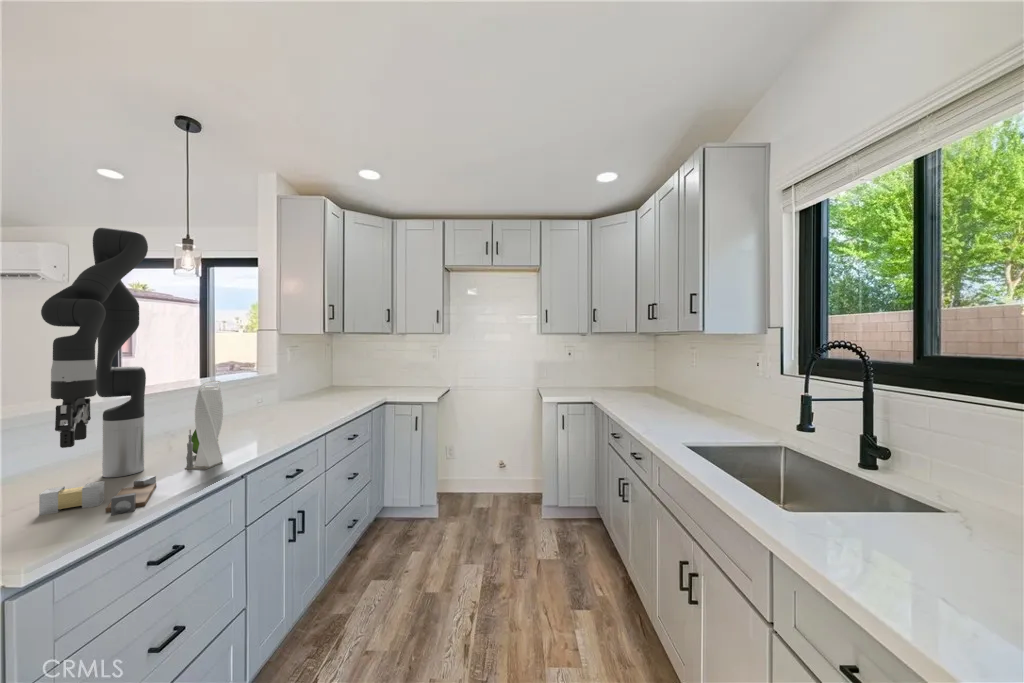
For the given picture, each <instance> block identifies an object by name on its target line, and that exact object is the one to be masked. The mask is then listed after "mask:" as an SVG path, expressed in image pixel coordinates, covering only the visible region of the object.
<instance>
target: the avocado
mask: <svg viewBox="0 0 1024 683" xmlns="http://www.w3.org/2000/svg"><path fill="white" fill-rule="evenodd" d="M191 435H192V438H191V442H193V450H192V453H193V454H196V455H197V452H198V448H199V440H198V437H197V432H196V428H194V432H192V434H191Z"/></svg>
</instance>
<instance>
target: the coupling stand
mask: <svg viewBox="0 0 1024 683" xmlns="http://www.w3.org/2000/svg"><path fill="white" fill-rule="evenodd" d="M156 488H157V475H147V476H142V477H140V478H139V479H136V480H133V486H130V487H123V488H121V489H120V490H119V491H118V493H117V494H116V495H113V496H112V497H110V498H111V499H110V503H109V504H108V505H107V506H106V507H105V513H110V516H113V515H114V516H115V515H120V514H125V513H131V512H135V510H136V509H137V508H139V507H144V506H146V505H147V503H148V501H149V500H150V499H151V496H152V495H153V494H154V492H155V489H156Z"/></svg>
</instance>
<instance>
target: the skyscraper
mask: <svg viewBox="0 0 1024 683" xmlns="http://www.w3.org/2000/svg"><path fill="white" fill-rule="evenodd" d="M211 383H218V384H217V386H215V385H207V384H211ZM221 383H222V381H221V380H210V381H206V382H204V383H202V384H201V385H200V386H199V387H198V388H197V396H196V401H195V408H194V425H195V426H194V427H195V429H196V432H197V437H198V440H199V448H198V452H197V454H196V459H195V461H194V455H193V454H194V452H193V451H192V450H193V442H191V438H192V435H193V434H192V432H191V431H192V429H189V430H188V433H189V434H188V442H187V443H186V447H187V451H186V452H187V453H186V457H185V458H186V467H184V470H193V471H194V470H197V471H199V470H200V471H201V470H204V471H205V470H208V469H211V468H213V467H217V466H218V465H221V464H223V461H224V460H223V457H222V453H221V447H220V444H219V436H220V434H221V429H222V426H223V425H222V424H223V420H224V419H223V418H224V405H223V396H222V393H221V387H220V385H221ZM205 385H206V386H205ZM193 462H194V463H193Z"/></svg>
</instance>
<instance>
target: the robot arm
mask: <svg viewBox="0 0 1024 683" xmlns="http://www.w3.org/2000/svg"><path fill="white" fill-rule="evenodd" d="M148 249H149V246H148V241H147V239H146V237H145V236H144V234H142V233H141V232H137V231H134V230H128V229H127V230H125V229H119V228H118V229H117V228H110V227H98V228H96V229H95V230H94V232H93V235H92V253H93V259H94V260H93V261H94V264H93V265H91V266H89V267H87V268H86V269H84V270H83V271H82V272H81V273H80V274H79V275H78V276H77V277H76V279H75V280H74V281H73V282H72V284H71V285H69V286H68V287H65V288H63V289H61V290H60V291H59V292H56V293H55V294H53V295H51V297H49V298H48V299H46V300H45V302H44V303H43V304H42V307H41V310H40V315H41V317H42V318H41V319H42V320H43V321H44V322H45V323H47V324H49V325H50V326H54V327H65V328H67V327H69V328H71V327H72V328H75V327H77V328H78V330H77V331H76V332H75V333H73V334H70V335H66V336H65V335H64V336H59V337H56V338H54V340H53V342H52V364H51V368H50V398H51V399H53V400H62V404H61V405H56V406H55V422H54V425H55V427H54V430H55V432H58V433H59V446H60V447H59V448H61V449H64V448H66V449H67V448H72V447H74V446H75V443H76V442H75V441H80V440H81V441H82V440H85V439H86V438H87V432H88V431H87V428H88V427H87V425H88V424H89V421H91V398H92V397H95V396H96V395H98V397H100V398H114V397H115V398H117V397H130V399H129V400H127V401H126V402H124V403H122V404H120V405H117V406H114V407H110V408H107V409H105V410H104V411H103V412H102V471H101V472H102V477H103V478H118V477H125V476H130V475H134V474H138V473H141V472H143V471H144V470H145V392H146V383H147V382H146V381H147V376H146V371H145V368H144V367H143V366H112V364H113V361H114V358H115V356H116V355H117V353H119V351H120V349H121V348H122V347H123V345H125V344H126V342H127V341H128V340H129V339H130V338H131V337H133V335H134V334H135V332H136V331H137V330H138V328H139V326H140V304H139V302H138V300H137V298H136V297H135V296H134V295H133V293H132V292H131V291H130V290H129V288H128V287H126V285H125V283H124V282H123V281H122V279H123V278H124V277H126V276H127V275H128V274H129V273H131V271H133V270H134V269H135V268H136V267H137V266H138V265H139V264H141V263H142V262H143V261H144V259H145V258H146V257H147V254H148V251H149V250H148ZM96 342H97V344H96ZM96 345H97V356H96ZM96 357H97V358H96Z"/></svg>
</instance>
